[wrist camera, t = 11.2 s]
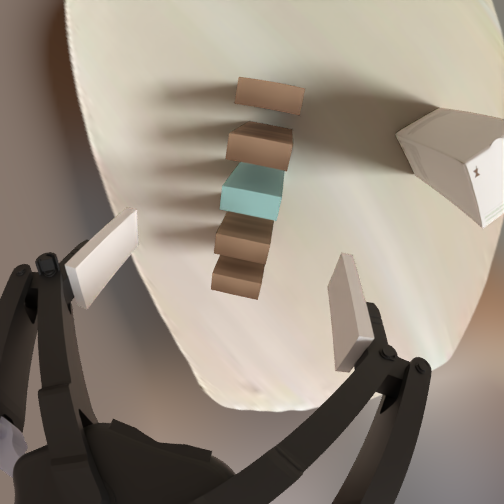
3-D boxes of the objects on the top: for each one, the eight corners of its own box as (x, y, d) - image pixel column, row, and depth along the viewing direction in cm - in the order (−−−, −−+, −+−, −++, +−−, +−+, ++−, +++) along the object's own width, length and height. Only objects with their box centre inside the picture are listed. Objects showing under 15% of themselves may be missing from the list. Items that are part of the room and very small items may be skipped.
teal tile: (243, 157, 32) (222, 185, 23) (284, 165, 32) (281, 197, 22) (241, 174, 33) (219, 209, 24) (281, 182, 33) (276, 220, 24)
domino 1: (256, 83, 27) (238, 76, 18) (300, 92, 27) (305, 88, 17) (253, 101, 28) (234, 103, 19) (296, 109, 28) (299, 115, 19)
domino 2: (249, 121, 29) (229, 133, 20) (292, 129, 29) (292, 145, 20) (246, 138, 30) (225, 159, 21) (288, 147, 30) (286, 171, 21)
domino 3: (237, 192, 34) (216, 233, 25) (276, 200, 34) (270, 244, 25) (235, 207, 35) (213, 253, 26) (273, 215, 35) (265, 264, 26)
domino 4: (233, 224, 37) (212, 273, 28) (270, 232, 37) (261, 283, 27) (231, 238, 38) (210, 289, 29) (267, 245, 38) (257, 299, 29)
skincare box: (413, 175, 29) (479, 234, 16) (391, 130, 27) (460, 163, 14) (459, 148, 26) (537, 192, 13) (440, 103, 24) (524, 122, 11)
